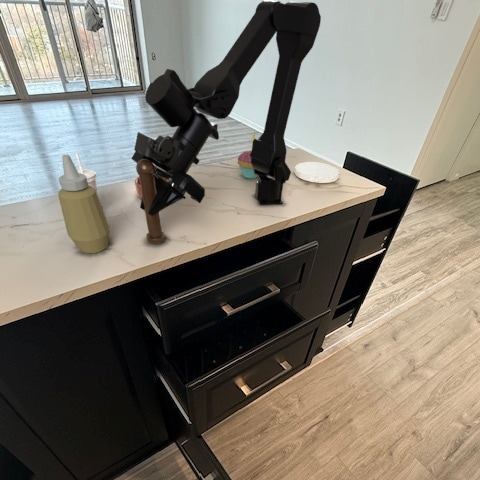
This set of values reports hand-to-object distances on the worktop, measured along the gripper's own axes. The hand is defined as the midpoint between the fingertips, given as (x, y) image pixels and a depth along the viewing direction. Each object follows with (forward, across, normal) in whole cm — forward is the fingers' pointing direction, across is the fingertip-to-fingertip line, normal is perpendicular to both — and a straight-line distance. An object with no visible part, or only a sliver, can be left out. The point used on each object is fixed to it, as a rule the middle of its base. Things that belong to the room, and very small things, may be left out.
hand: (145, 211), depth 65 cm
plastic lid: (-39, -3, +49) cm, 63 cm away
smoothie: (+8, -20, +2) cm, 21 cm away
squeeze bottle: (+12, -6, -2) cm, 14 cm away
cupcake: (-27, -16, +37) cm, 49 cm away
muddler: (+4, 0, +6) cm, 7 cm away
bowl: (-5, -20, +15) cm, 26 cm away
